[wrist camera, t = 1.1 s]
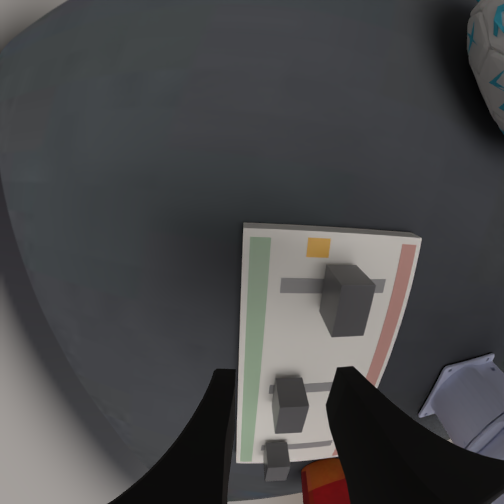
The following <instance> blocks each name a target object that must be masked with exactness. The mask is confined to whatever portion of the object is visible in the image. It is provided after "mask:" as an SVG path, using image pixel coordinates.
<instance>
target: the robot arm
mask: <svg viewBox="0 0 504 504" xmlns="http://www.w3.org/2000/svg"><path fill="white" fill-rule="evenodd" d="M493 358H494V354H493V353H491V354H488V355H485V356H482V357H478V358H475V359H471V360H468V361H464V362H460V363H456V364H452V365H448V366H445V367H444V368H443V370H442V372H441V374H440V376H439V378H438V380H437V382H436V384H435V385H434V387H433V389H432V391H431V393H430V395H429V397H428V398H427V400H426V402H425V404H424V405H423V407H422V409H421V411H420V412H419V414H418V416H419V417H420V418H421V417H425V416H428V415H431V414H436V415H437V417H438V419H439V420H440V422H441V423H442V425H443V427H444V428H445V430H446V432H447V433H448V435H449V437H450V438H451V440H452V442H453V443H454V444H453V443H451V442H449V441H447V440H445V439H443V438H441V437H439V436H438V435H436V434H434V433H433V432H431V431H429V430H428V429H426V428H425V427H423V426H422V425H420V424H419V423H417V422H416V421H415V420H413V419H412V418H411V417H409V416H408V415H407V414H405V413H404V412H403V411H402V410H400V409H399V408H398V407H397V406H396V405H394V404H393V403H392V402H391V401H390V400H389V399H388V398H386V397H385V396H384V395H383V394H382V393H381V392H380V391H379V390H378V389H377V388H376V387H375V386H374V385H372V384H371V383H370V382H369V381H368V380H367V379H366V378H365V377H364V376H363V375H362V374H361V373H360V372H359V371H358V370H357V369H356V368H355V367H354V366H347V367H337V369H336V373H335V376H334V380H333V383H332V386H331V390H330V393H329V396H328V399H327V402H326V411H327V417H328V423H329V428H330V431H331V435H332V438H333V441H334V444H335V447H336V450H337V453H338V456H339V459H340V463H341V466H342V469H343V472H344V475H345V479H346V483H347V487H348V493H349V499H350V504H504V373H503V372H502V371H501V370H500V369H499V368H498V367H497V366H496V365H495V364H494V363H493V362H492V360H493ZM235 372H236V369H216V370H215V371H214V373H213V376H212V379H211V381H210V384H209V386H208V388H207V391H206V393H205V395H204V397H203V399H202V400H201V402H200V404H199V406H198V407H197V409H196V411H195V413H194V414H193V416H192V418H191V419H190V421H189V422H188V424H187V425H186V427H185V428H184V430H183V431H182V433H181V434H180V435H179V437H178V438H177V439H176V441H175V442H174V443H173V444H172V446H171V447H170V448H169V449H168V451H167V452H166V453H165V454H164V455H163V456H162V457H161V459H160V460H159V461H158V462H157V463H156V464H155V465H154V466H153V467H152V468H151V469H150V470H149V471H148V472H147V473H146V474H145V475H144V476H143V477H142V478H140V479H139V480H138V481H137V482H136V483H135V484H133V485H132V486H131V487H130V488H129V489H127V490H126V491H125V492H123V493H122V494H121V495H120V496H118V497H117V498H116V499H114V500H113V501H111V502H110V503H108V504H227V492H228V481H229V473H230V465H231V457H232V449H233V441H234V431H235Z"/></svg>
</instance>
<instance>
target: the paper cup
mask: <svg viewBox="0 0 504 504" xmlns="http://www.w3.org/2000/svg"><path fill="white" fill-rule="evenodd" d="M301 479H302V492H303V503H304V504H350V499H349V493H348V487H347V483H346V479H345V475H344V472H343V469H342V466H341V463H340V459H338V458H327V459H322V460H318V461H315V462H312V463H310V464H308V465H306V466H305V467H304V468H303V469H302V471H301Z"/></svg>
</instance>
